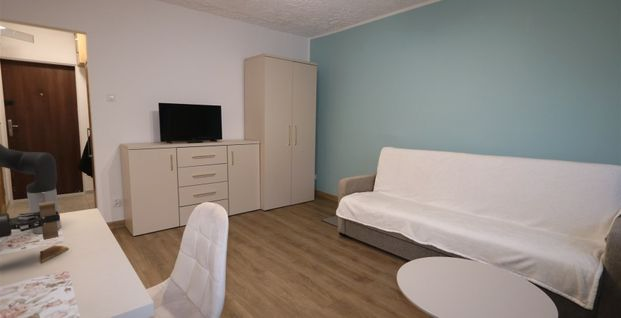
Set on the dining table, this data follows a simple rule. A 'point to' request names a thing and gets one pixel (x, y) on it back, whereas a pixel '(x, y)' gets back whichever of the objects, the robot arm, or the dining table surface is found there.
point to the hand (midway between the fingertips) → (58, 215)
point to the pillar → (50, 228)
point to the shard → (51, 252)
